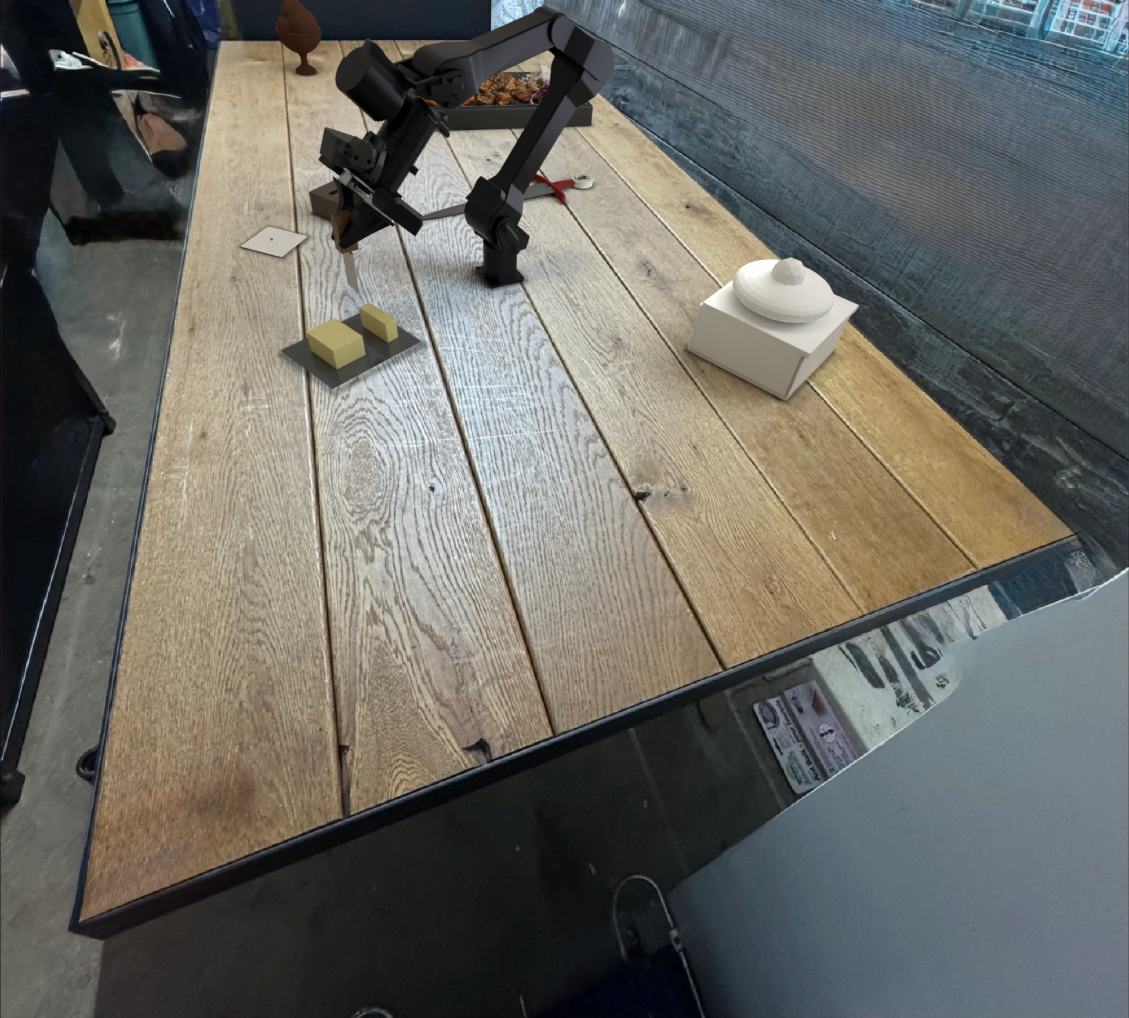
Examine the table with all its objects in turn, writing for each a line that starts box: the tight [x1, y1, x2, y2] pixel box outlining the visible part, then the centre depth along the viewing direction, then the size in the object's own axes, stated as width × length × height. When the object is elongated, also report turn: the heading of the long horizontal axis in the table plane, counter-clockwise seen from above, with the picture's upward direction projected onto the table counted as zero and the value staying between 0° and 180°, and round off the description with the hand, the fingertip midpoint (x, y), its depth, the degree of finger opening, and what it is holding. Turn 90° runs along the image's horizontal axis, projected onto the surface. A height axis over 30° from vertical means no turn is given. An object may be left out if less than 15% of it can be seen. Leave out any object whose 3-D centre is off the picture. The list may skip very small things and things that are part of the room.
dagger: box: [422, 172, 594, 220], centre depth 132 cm, size 12×41×2 cm, turn 113°
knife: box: [330, 209, 360, 293], centre depth 92 cm, size 3×3×11 cm
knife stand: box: [308, 180, 339, 221], centre depth 121 cm, size 7×7×4 cm
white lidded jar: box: [686, 257, 860, 402], centre depth 98 cm, size 18×18×16 cm
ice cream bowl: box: [274, 0, 322, 76], centre depth 163 cm, size 11×11×15 cm
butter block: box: [305, 318, 365, 369], centre depth 93 cm, size 5×6×3 cm
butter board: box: [280, 312, 422, 390], centre depth 96 cm, size 16×12×1 cm
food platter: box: [407, 64, 594, 131], centre depth 159 cm, size 45×25×10 cm, turn 108°
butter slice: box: [358, 302, 398, 343], centre depth 97 cm, size 2×6×3 cm, turn 50°
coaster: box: [240, 226, 309, 258], centre depth 113 cm, size 8×8×1 cm
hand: (337, 243), depth 90 cm, fingers closed on knife, 2 cm apart
